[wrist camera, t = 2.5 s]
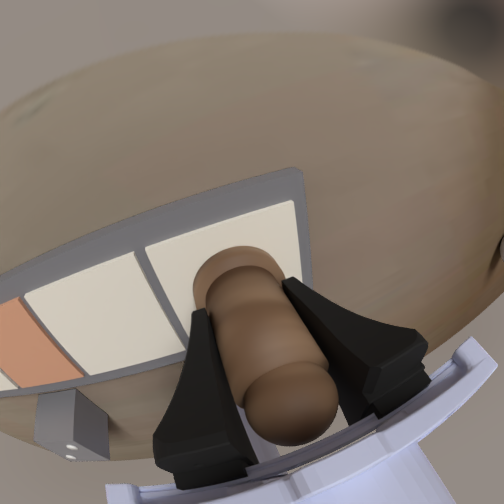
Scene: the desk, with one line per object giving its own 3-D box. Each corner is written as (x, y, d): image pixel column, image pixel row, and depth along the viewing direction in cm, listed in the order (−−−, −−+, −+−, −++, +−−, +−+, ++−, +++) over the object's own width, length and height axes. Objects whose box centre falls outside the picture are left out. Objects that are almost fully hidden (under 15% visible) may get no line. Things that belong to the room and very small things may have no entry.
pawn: (240, 328, 16) (297, 463, 9) (174, 297, 14) (209, 468, 7) (295, 273, 16) (389, 403, 8) (233, 228, 13) (331, 396, 6)
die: (70, 419, 19) (70, 462, 15) (38, 394, 16) (33, 441, 12) (107, 414, 20) (110, 461, 16) (75, 388, 17) (73, 441, 13)
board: (-13, 391, 14) (-15, 400, 13) (-75, 320, 9) (-80, 330, 8) (307, 304, 19) (316, 316, 18) (293, 166, 14) (305, 173, 13)
